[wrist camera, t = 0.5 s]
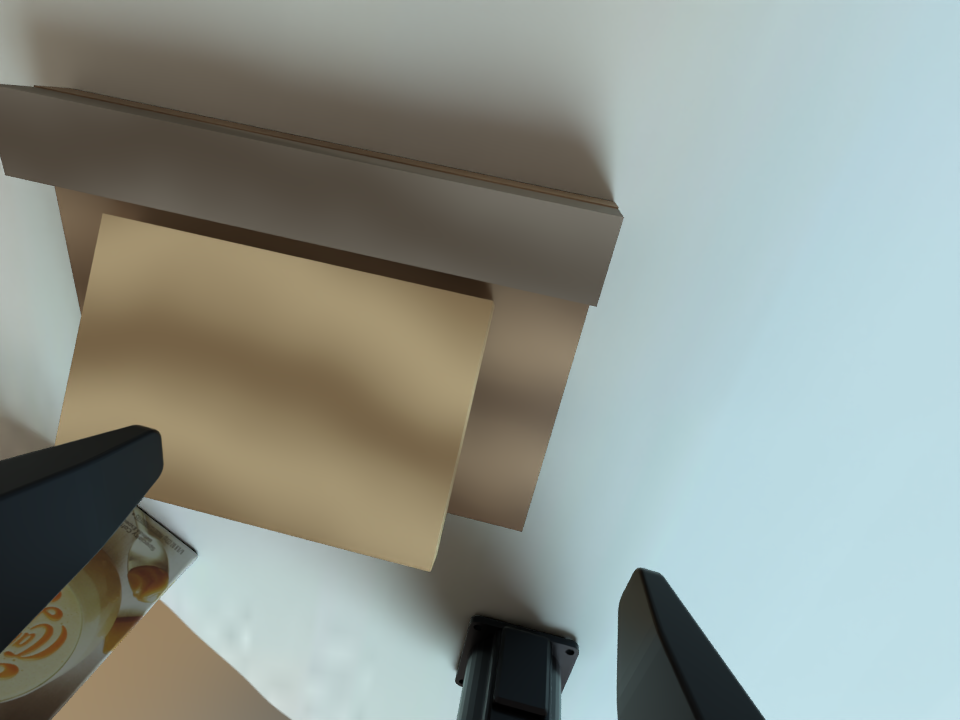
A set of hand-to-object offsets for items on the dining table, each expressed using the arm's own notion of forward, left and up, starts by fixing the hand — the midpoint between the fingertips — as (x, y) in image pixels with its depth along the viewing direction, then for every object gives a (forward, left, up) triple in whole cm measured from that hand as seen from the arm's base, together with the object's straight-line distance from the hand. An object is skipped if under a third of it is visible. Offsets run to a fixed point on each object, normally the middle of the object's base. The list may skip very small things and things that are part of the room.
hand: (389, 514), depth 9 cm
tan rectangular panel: (-4, +7, -9) cm, 12 cm away
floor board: (-3, +7, -13) cm, 15 cm away
